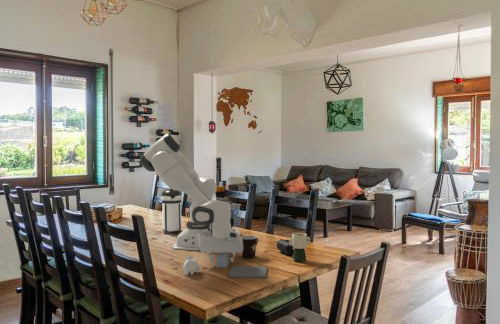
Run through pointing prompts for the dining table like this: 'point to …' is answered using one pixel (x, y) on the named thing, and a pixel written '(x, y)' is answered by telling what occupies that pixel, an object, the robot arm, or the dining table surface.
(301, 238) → the character mug
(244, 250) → the coffee mug
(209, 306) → the dining table surface
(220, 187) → the bottle
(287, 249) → the end cap
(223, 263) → the slate cube
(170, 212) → the coffee press
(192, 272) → the elephant figurine
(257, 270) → the charcoal mat
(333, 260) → the dining table surface
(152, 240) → the dining table surface
